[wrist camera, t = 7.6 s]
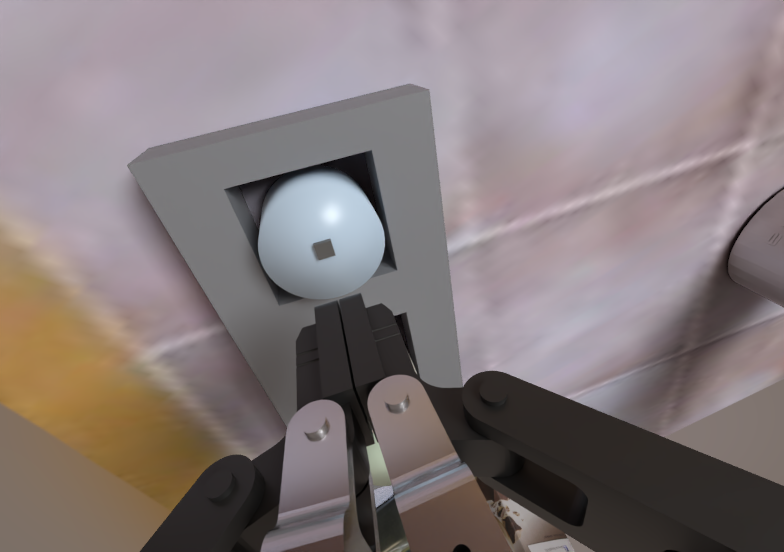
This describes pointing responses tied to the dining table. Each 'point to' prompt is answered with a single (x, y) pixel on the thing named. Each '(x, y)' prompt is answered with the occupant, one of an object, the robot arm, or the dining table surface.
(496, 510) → the coffee box
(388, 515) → the mobile phone
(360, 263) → the blue button
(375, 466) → the sage button
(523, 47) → the dining table surface
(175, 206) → the button board
